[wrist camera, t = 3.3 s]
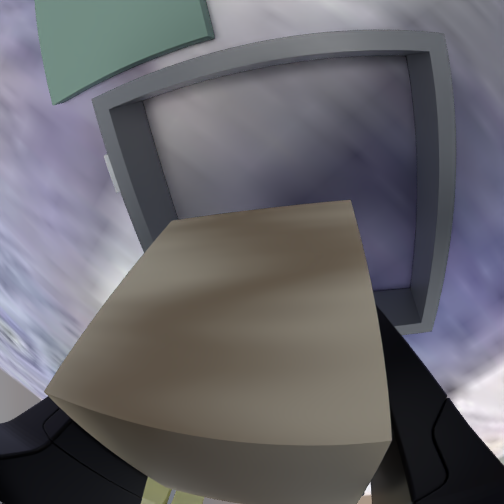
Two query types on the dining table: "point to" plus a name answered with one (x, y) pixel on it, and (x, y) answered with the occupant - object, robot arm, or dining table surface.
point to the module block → (241, 360)
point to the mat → (111, 37)
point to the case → (288, 51)
